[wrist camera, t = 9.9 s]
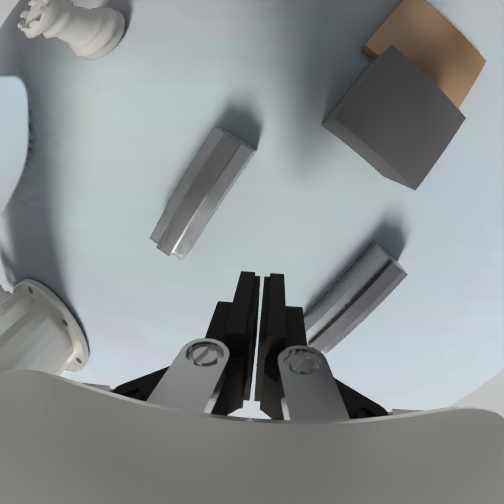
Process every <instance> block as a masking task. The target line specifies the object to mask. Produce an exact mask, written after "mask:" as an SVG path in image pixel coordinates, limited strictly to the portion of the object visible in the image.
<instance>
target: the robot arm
mask: <svg viewBox="0 0 504 504" xmlns="http://www.w3.org/2000/svg"><path fill="white" fill-rule="evenodd" d="M259 289H260V276H255V272H244V271H241V274H240V277H239V281H238V285H237V289H236V292H235V296H234V300H233V302H221V301H219V302H218V303H217V306H216V308H215V311H214V314H213V317H212V320H211V322H210V325H209V328H208V331H207V334H206V337H205V338H202V339H196V340H193V341H191V342H189V343H187V344H186V345H185V346H184V347H183V348H182V349H181V351H180V352H179V354H178V355H177V357H176V358H175V360H174V361H173V363H172V364H171V365H170V366H169V367H166V368H164V369H161V370H159V371H156V372H153V373H151V374H148V375H146V376H143V377H140V378H138V379H135V380H132V381H129V382H127V383H124V384H122V385H120V386H118V387H116V388H115V389H111V388H110V386H107V385H97V384H88V383H80V382H76V381H73V380H70V379H67V378H64V377H61V376H60V375H61V373H62V372H63V371H64V370H67V371H72V372H75V371H79V370H81V369H82V368H83V367H84V366H85V365H86V363H87V361H88V357H89V352H88V346H87V343H86V340H85V337H84V335H83V333H82V331H81V328H80V327H79V325H78V323H77V322H76V320H75V318H74V317H73V315H72V314H71V313H70V311H69V310H68V308H67V307H66V306H65V305H64V304H63V302H62V301H61V300H60V299H59V298H58V297H57V296H56V295H55V294H54V293H53V292H52V291H51V290H49V289H48V288H47V287H46V286H44V285H42V284H41V283H39V282H37V281H35V280H31V279H25V280H22V281H21V282H20V283H18V284H17V285H16V286H15V287H14V290H13V294H11V293H10V292H9V291H5V290H4V289H3V288H2V286H1V285H0V504H504V418H503V417H502V416H501V415H499V414H498V413H496V412H494V411H491V410H488V409H483V408H476V407H450V408H440V409H434V410H427V411H423V410H401V409H392V411H391V412H387V411H386V410H385V409H384V408H383V407H381V406H380V405H379V404H377V403H375V402H373V401H372V400H370V399H368V398H367V397H365V396H363V395H361V394H360V393H358V392H356V391H355V390H353V389H351V388H350V387H348V386H347V385H345V384H343V383H342V382H340V381H338V380H337V379H335V378H334V377H333V375H332V372H331V370H330V367H329V365H328V362H327V360H326V358H325V356H324V355H323V354H322V353H321V352H320V351H318V350H317V349H314V348H312V347H309V346H307V338H306V331H305V323H304V316H303V309H302V307H291V306H285V285H284V274H274V273H270V277H264V288H263V299H262V310H261V320H260V331H259V343H258V357H257V372H256V385H255V399H254V401H261V402H260V410H262V411H263V412H264V413H266V414H267V415H268V416H269V417H270V418H269V419H255V418H243V417H233V416H231V413H232V412H234V411H235V410H237V409H239V408H242V407H243V400H249V399H250V391H251V383H252V374H253V365H254V356H255V347H256V338H257V323H258V306H259Z"/></svg>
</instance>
